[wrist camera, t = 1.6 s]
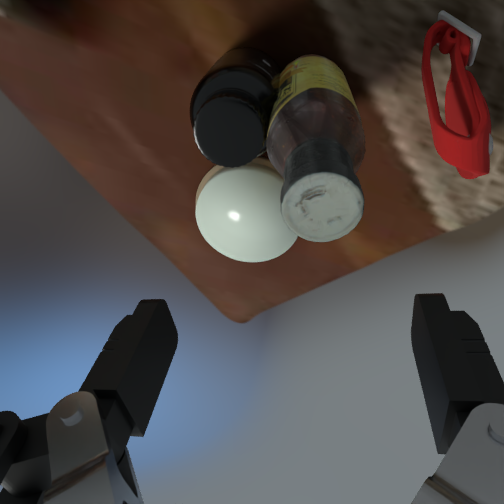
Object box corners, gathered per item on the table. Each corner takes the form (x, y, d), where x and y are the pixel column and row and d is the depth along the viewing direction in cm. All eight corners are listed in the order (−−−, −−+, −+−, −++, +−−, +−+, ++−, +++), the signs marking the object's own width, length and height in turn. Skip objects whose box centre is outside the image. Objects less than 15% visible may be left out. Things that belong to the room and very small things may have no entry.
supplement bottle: (301, 91, 35) (303, 139, 25) (245, 141, 38) (229, 200, 28) (248, 26, 32) (228, 51, 23) (193, 85, 35) (155, 129, 26)
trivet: (301, 149, 38) (300, 159, 36) (310, 250, 45) (310, 263, 43) (184, 161, 40) (177, 171, 38) (210, 254, 47) (205, 267, 45)
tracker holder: (469, 149, 36) (512, 202, 28) (418, 161, 37) (445, 215, 29) (466, -2, 29) (520, 11, 21) (403, 19, 31) (433, 38, 23)
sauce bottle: (276, 49, 33) (258, 127, 17) (352, 53, 32) (407, 137, 16) (271, 127, 37) (253, 252, 21) (339, 132, 36) (374, 261, 20)
